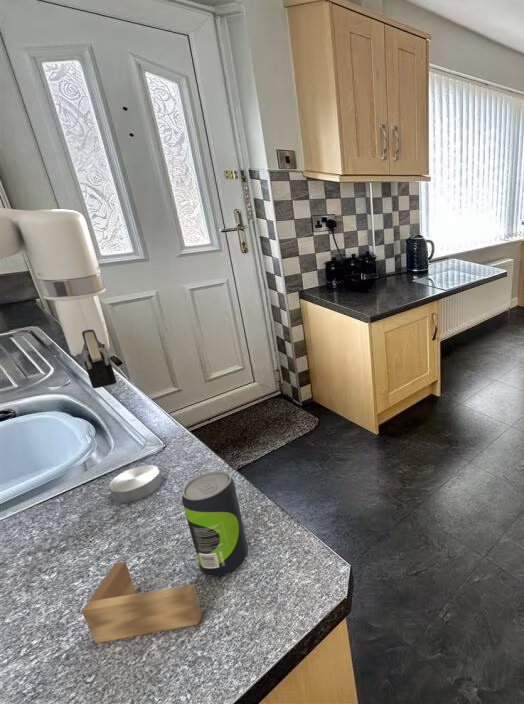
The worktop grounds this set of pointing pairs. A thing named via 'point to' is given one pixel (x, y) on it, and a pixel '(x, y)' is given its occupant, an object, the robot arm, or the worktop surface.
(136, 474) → the brushed steel puck
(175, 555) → the worktop surface
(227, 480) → the beverage can
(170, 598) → the corner guard
